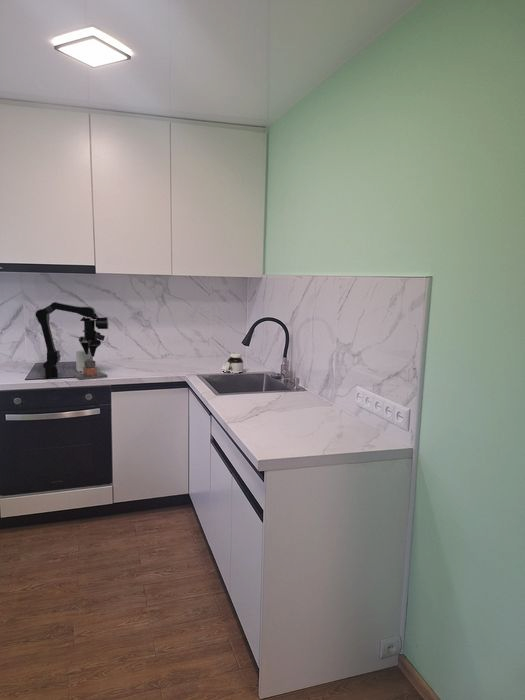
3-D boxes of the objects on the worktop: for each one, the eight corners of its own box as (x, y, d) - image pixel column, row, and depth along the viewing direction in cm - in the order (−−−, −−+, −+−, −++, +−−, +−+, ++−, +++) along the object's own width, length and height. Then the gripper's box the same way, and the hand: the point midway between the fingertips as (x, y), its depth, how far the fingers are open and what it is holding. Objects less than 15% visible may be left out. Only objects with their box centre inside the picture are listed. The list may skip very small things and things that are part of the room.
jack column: (87, 374, 278) (86, 362, 277) (84, 373, 281) (84, 361, 280) (95, 373, 281) (95, 361, 280) (93, 372, 284) (93, 360, 283)
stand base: (80, 380, 271) (80, 370, 270) (73, 376, 280) (72, 366, 279) (107, 377, 282) (107, 367, 281) (100, 374, 290) (99, 364, 290)
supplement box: (87, 372, 295) (86, 351, 293) (76, 371, 296) (75, 351, 294) (93, 370, 302) (93, 350, 300) (82, 369, 303) (82, 349, 301)
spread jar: (244, 372, 309) (245, 355, 308) (232, 375, 301) (233, 357, 299) (231, 370, 317) (231, 352, 315) (219, 372, 308) (219, 354, 306)
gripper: (109, 329, 275) (109, 356, 278) (96, 326, 289) (97, 352, 292) (90, 330, 268) (90, 358, 271) (78, 327, 282) (78, 353, 285)
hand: (89, 355), depth 280 cm, fingers open, 9 cm apart
